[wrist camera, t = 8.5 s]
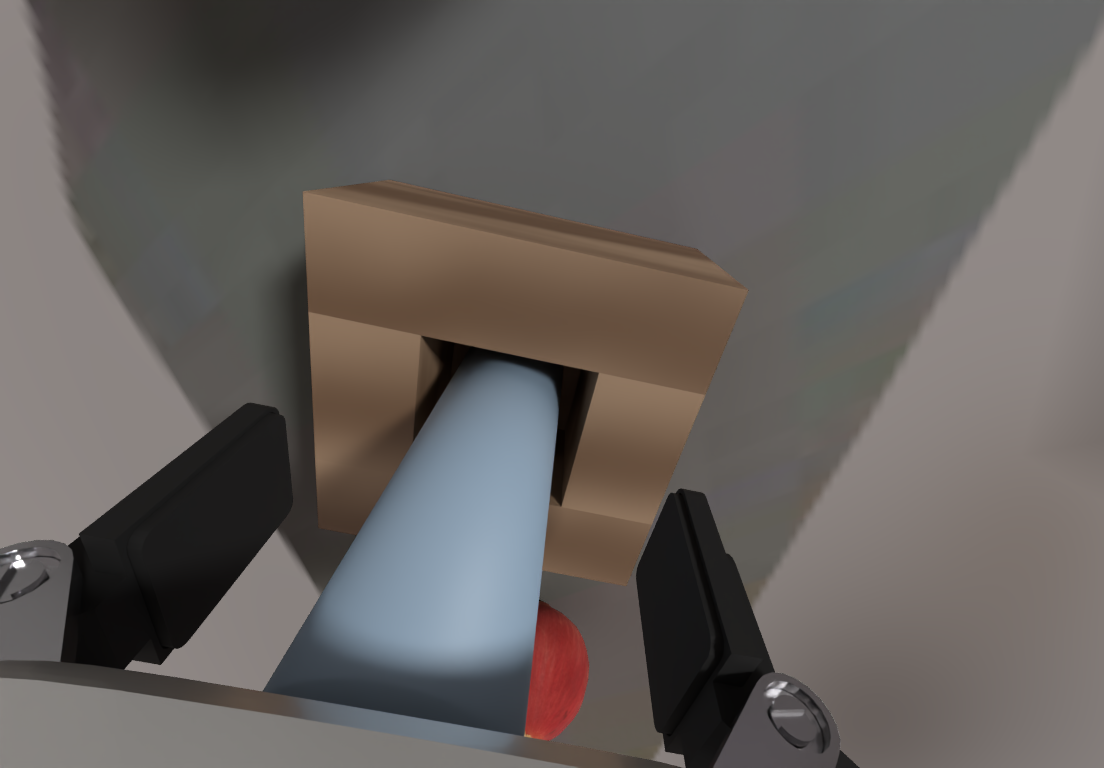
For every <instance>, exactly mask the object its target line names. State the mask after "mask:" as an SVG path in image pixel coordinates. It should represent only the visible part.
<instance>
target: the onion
mask: <svg viewBox="0 0 1104 768" xmlns="http://www.w3.org/2000/svg"><path fill="white" fill-rule="evenodd" d="M588 674H589V661H588V655H587V650H586V646H585V643H584V640H583V638H582V636H581V634H580V632H579V630H578V629H577V627H576V626H575V625H574V624H573V623H572V622H571V621H570V620H569V619H568V618H567V617H566V616H564V615H563V614H562V613H561V612H559V611H557V610H555V609H553V608H551V607H550V606H549V604H547V603H545V602H543V601H539V603H538V613H537V622H536V632H535V641H534V650H533V660H532V669H531V679H530V688H529V697H528V707H527V716H526V726H525V735H524V737H530V738H536V739H541V740H547V741H549V740H551V739H553V738H555V737H556V736H558V735H559V734H560V733H561V732H562V731H563V730H564V729H565V728H566V727H567V726H568V725H569V724H570V722H571V721H572V720H573V719H574V717H575V716H576V714H577V713H578V711H579V709H580V706H581V704H582V702H583V698H584V694H585V690H586V686H587V682H588Z"/></svg>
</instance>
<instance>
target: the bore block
mask: <svg viewBox="0 0 1104 768" xmlns="http://www.w3.org/2000/svg"><path fill="white" fill-rule="evenodd" d="M303 205H304V227H305V248H306V270H307V292H308V313H309V335H310V356H311V378H312V399H313V421H314V443H315V464H316V486H317V507H318V528H321V529H326V530H331V531H337V532H342V533H347V534H353V535H357V534H358V533H359V531H360V529H361V528H362V526H363V524H364V523H365V521H366V519H367V518H368V516H369V515H370V513H371V511H372V510H373V508H374V506H375V505H376V503H377V501H378V500H379V498H380V496H381V495H382V493H383V491H384V490H385V488H386V486H387V485H388V483H389V481H390V480H391V478H392V476H393V475H394V473H395V471H396V470H397V468H398V466H399V465H400V463H401V462H402V460H403V458H404V457H405V455H406V453H407V452H408V450H409V448H410V447H411V445H412V443H413V442H414V440H415V438H416V437H417V435H418V433H419V432H420V430H421V428H422V427H423V425H424V423H425V422H426V420H427V418H428V417H429V415H430V414H431V412H432V410H433V409H434V407H435V405H436V404H437V402H438V400H439V399H440V397H441V395H442V394H443V392H444V390H445V389H446V387H447V385H448V384H449V382H450V380H451V379H452V377H453V375H454V374H455V372H456V370H457V369H458V367H459V366H460V364H461V362H462V361H463V359H464V357H465V356H466V354H467V352H468V351H469V349H470V347H471V346H474V347H478V348H483V349H488V350H493V351H497V352H502V353H507V354H512V355H517V356H521V357H526V358H531V359H536V360H540V361H545V362H550V363H555V364H559V365H563V378H562V387H561V396H560V406H559V415H558V425H557V434H556V443H555V453H554V462H553V472H552V481H551V490H550V500H549V509H548V519H547V528H546V537H545V547H544V556H543V566H542V570H543V571H549V572H554V573H559V574H565V575H570V576H575V577H580V578H586V579H591V580H596V581H602V582H607V583H612V584H618V585H623V586H626V585H627V583H628V580H629V578H630V576H631V573H632V571H633V568H634V566H635V564H636V561H637V559H638V556H639V554H640V551H641V549H642V547H643V544H644V542H645V539H646V537H647V535H648V532H649V530H650V527H651V525H652V522H653V520H654V518H655V515H656V513H657V510H658V508H659V506H660V503H661V501H662V498H663V496H664V494H665V491H666V489H667V486H668V484H669V481H670V479H671V477H672V474H673V472H674V469H675V467H676V465H677V462H678V460H679V457H680V455H681V452H682V450H683V448H684V445H685V443H686V440H687V438H688V436H689V433H690V431H691V428H692V426H693V423H694V421H695V419H696V416H697V414H698V411H699V409H700V407H701V404H702V402H703V399H704V397H705V394H706V392H707V390H708V387H709V385H710V382H711V380H712V378H713V375H714V373H715V370H716V368H717V365H718V363H719V361H720V358H721V356H722V353H723V351H724V349H725V346H726V344H727V341H728V339H729V337H730V334H731V332H732V329H733V327H734V324H735V322H736V320H737V317H738V315H739V312H740V310H741V308H742V305H743V303H744V300H745V298H746V295H747V293H748V291H749V290H748V289H746V288H745V287H744V286H743V285H741V284H740V283H739V282H738V281H736V280H735V279H734V278H733V277H731V276H730V275H729V274H728V273H726V272H725V271H724V270H723V269H721V268H720V267H719V266H718V265H716V264H715V263H714V262H713V261H711V260H710V259H709V258H708V257H706V256H705V255H704V254H703V253H701V252H700V251H699V250H698V249H695V248H690V247H686V246H681V245H677V244H673V243H668V242H664V241H659V240H655V239H650V238H646V237H641V236H637V235H632V234H628V233H624V232H619V231H615V230H610V229H606V228H601V227H597V226H592V225H588V224H584V223H579V222H575V221H570V220H566V219H561V218H557V217H552V216H548V215H543V214H539V213H535V212H530V211H526V210H521V209H517V208H512V207H508V206H503V205H499V204H494V203H490V202H486V201H481V200H477V199H472V198H468V197H463V196H459V195H454V194H450V193H446V192H441V191H437V190H432V189H428V188H423V187H419V186H414V185H410V184H405V183H401V182H397V181H392V180H386V181H378V182H371V183H363V184H356V185H348V186H341V187H333V188H326V189H318V190H311V191H303Z"/></svg>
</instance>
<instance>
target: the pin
mask: <svg viewBox="0 0 1104 768" xmlns="http://www.w3.org/2000/svg"><path fill="white" fill-rule="evenodd" d="M562 378H563V365H559V364H555V363H550V362H545V361H540V360H536V359H531V358H526V357H521V356H517V355H512V354H507V353H502V352H497V351H493V350H488V349H483V348H478V347H474V346H471V347H470V349H469V351H468V352H467V354H466V356H465V357H464V359H463V361H462V362H461V364H460V366H459V367H458V369H457V370H456V372H455V374H454V375H453V377H452V379H451V380H450V382H449V384H448V385H447V387H446V389H445V390H444V392H443V394H442V395H441V397H440V399H439V400H438V402H437V404H436V405H435V407H434V409H433V410H432V412H431V414H430V415H429V417H428V418H427V420H426V422H425V423H424V425H423V427H422V428H421V430H420V432H419V433H418V435H417V437H416V438H415V440H414V442H413V443H412V445H411V447H410V448H409V450H408V452H407V453H406V455H405V457H404V458H403V460H402V462H401V463H400V465H399V466H398V468H397V470H396V471H395V473H394V475H393V476H392V478H391V480H390V481H389V483H388V485H387V486H386V488H385V490H384V491H383V493H382V495H381V496H380V498H379V500H378V501H377V503H376V505H375V506H374V508H373V510H372V511H371V513H370V515H369V516H368V518H367V519H366V521H365V523H364V524H363V526H362V528H361V529H360V531H359V533H358V534H357V536H356V538H355V539H354V541H353V543H352V544H351V546H350V548H349V549H348V551H347V553H346V554H345V556H344V558H343V559H342V561H341V563H340V564H339V566H338V567H337V569H336V571H335V572H334V574H333V576H332V577H331V579H330V581H329V582H328V584H327V586H326V587H325V589H324V591H323V592H322V594H321V596H320V597H319V599H318V601H317V602H316V604H315V606H314V607H313V609H312V611H311V612H310V614H309V615H308V617H307V619H306V620H305V622H304V624H303V625H302V627H301V629H300V630H299V632H298V634H297V635H296V637H295V639H294V640H293V642H292V644H291V645H290V647H289V649H288V650H287V652H286V654H285V655H284V657H283V659H282V660H281V662H280V664H279V665H278V667H277V668H276V670H275V672H274V673H273V675H272V677H271V678H270V680H269V682H268V683H267V685H266V687H265V688H264V690H263V692H268V693H274V694H280V695H286V696H292V697H298V698H304V699H310V700H316V701H322V702H328V703H334V704H339V705H345V706H351V707H357V708H363V709H369V710H375V711H381V712H386V713H392V714H398V715H404V716H410V717H415V718H421V719H427V720H433V721H439V722H445V723H450V724H456V725H462V726H468V727H473V728H479V729H485V730H490V731H496V732H502V733H507V734H513V735H519V736H524V735H525V726H526V716H527V707H528V697H529V688H530V679H531V669H532V660H533V650H534V641H535V632H536V622H537V613H538V603H539V594H540V585H541V575H542V566H543V556H544V547H545V537H546V528H547V519H548V509H549V500H550V490H551V481H552V472H553V462H554V453H555V443H556V434H557V425H558V415H559V406H560V396H561V387H562Z"/></svg>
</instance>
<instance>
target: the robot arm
mask: <svg viewBox="0 0 1104 768" xmlns="http://www.w3.org/2000/svg"><path fill="white" fill-rule="evenodd" d="M292 503H293V495H292V484H291V474H290V464H289V454H288V444H287V433H286V423H285V418H284V416H282V415H279V411H278V410H277V409H276V408H274V407H270V406H265V405H260V404H255V403H247V404H245V405H243V406H242V407H241V408H239V409H238V410H237V411H236V412H234V413H233V414H232V415H230V416H229V417H228V418H227V419H225V420H224V421H223V422H221V423H220V424H219V425H218V426H216V427H215V428H214V429H212V430H211V431H210V432H209V433H207V434H206V435H205V436H204V437H202V438H201V439H200V440H198V441H197V442H196V443H195V444H193V445H192V446H191V447H189V448H188V449H187V450H186V451H184V452H183V453H182V454H181V455H179V456H178V457H177V458H175V459H174V460H173V461H171V462H170V463H169V464H168V465H166V466H165V467H164V468H162V469H161V470H160V471H159V472H157V473H156V474H155V475H154V476H152V477H151V478H150V479H148V480H147V481H146V482H145V483H143V484H142V485H141V486H139V487H138V488H137V489H136V490H134V491H133V492H132V493H131V494H129V495H128V496H127V497H125V498H124V499H123V500H121V501H120V502H119V503H118V504H116V505H115V506H114V507H113V508H111V509H110V510H109V511H107V512H106V513H105V514H104V515H102V516H101V517H100V518H98V519H97V520H96V521H95V522H93V523H92V524H91V525H89V526H88V527H87V528H86V529H84V530H83V531H82V532H80V533H79V535H80V537H78V538H77V539H76V540H75V541H74V542H72V543H71V544H69V545H68V546H67V545H66V544H64V543H61V542H57V541H54V540H34V541H28V542H22V543H17V544H14V545H11V546H8V547H4V548H1V549H0V768H681V767H677V766H674V765H669V764H666V763H662V762H657V761H652V760H647V759H642V758H637V757H632V756H627V755H622V754H617V753H611V752H606V751H601V750H596V749H591V748H586V747H581V746H575V745H569V744H564V743H558V742H552V741H547V740H541V739H536V738H530V737H524V736H519V735H513V734H507V733H502V732H496V731H490V730H485V729H479V728H473V727H468V726H462V725H456V724H450V723H445V722H439V721H433V720H427V719H421V718H415V717H410V716H404V715H398V714H392V713H386V712H381V711H375V710H369V709H363V708H357V707H351V706H345V705H339V704H334V703H328V702H322V701H316V700H310V699H304V698H298V697H292V696H286V695H280V694H274V693H268V692H262V691H255V690H249V689H243V688H237V687H232V686H225V685H219V684H213V683H207V682H201V681H195V680H189V679H183V678H177V677H170V676H163V675H156V674H150V673H143V672H136V671H129V670H124V669H125V668H126V667H127V665H128V664H129V663H130V662H131V661H132V660H135V661H142V662H147V663H152V664H158V665H161V664H162V663H163V662H164V660H165V659H166V658H167V656H168V655H169V654H170V653H171V652H172V650H173V649H174V648H176V649H178V648H180V647H182V646H183V645H185V644H186V643H187V642H188V640H189V639H190V638H191V637H192V636H193V634H194V633H195V632H196V630H197V629H198V628H199V626H200V625H201V624H202V623H203V621H204V620H205V619H206V618H207V616H208V615H209V614H210V613H211V611H212V610H213V609H214V607H215V606H216V605H217V604H218V603H219V601H220V600H221V599H222V597H223V596H224V595H225V594H226V592H227V591H228V590H229V589H230V587H231V586H232V585H233V583H234V582H235V581H236V580H237V578H238V577H239V576H240V575H241V573H242V572H243V571H244V570H245V568H246V567H247V566H248V564H249V563H250V562H251V561H252V559H253V558H254V557H255V556H256V554H257V553H258V552H259V550H260V549H261V548H262V547H263V545H264V544H265V543H266V542H267V540H268V539H269V538H270V537H271V535H272V534H273V533H274V531H275V530H276V529H277V528H278V526H279V525H280V524H281V523H282V521H283V520H284V519H285V517H286V516H287V515H288V513H289V512H290V509H291V507H292ZM636 582H637V590H638V598H639V606H640V614H641V622H642V630H643V638H644V646H645V654H646V662H647V670H648V678H649V686H650V694H651V702H652V710H653V718H654V725H655V728H656V730H657V732H659V733H663V738H664V746H665V751H666V752H670V753H676V754H682V755H684V760H685V766H686V768H859V767H858V766H857V765H856V764H855V763H854V762H853V761H852V760H850V759H849V758H848V757H847V756H846V755H845V754H844V753H843V752H842V751H841V750H840V736H839V733H838V728H837V725H836V723H835V721H834V719H833V717H832V715H831V713H830V711H829V710H828V708H827V707H826V706H825V704H824V703H823V702H822V700H821V699H820V698H819V697H818V696H817V695H816V694H815V693H814V692H813V691H812V690H811V689H810V688H809V687H808V686H806V685H805V684H803V683H802V682H800V681H799V680H797V679H796V678H794V677H791V676H788V675H786V674H784V673H775V671H774V668H773V665H772V663H771V660H770V657H769V654H768V652H767V649H766V646H765V643H764V641H763V638H762V635H761V632H760V630H759V627H758V624H757V621H756V619H755V616H754V613H753V611H752V608H751V605H750V602H749V600H748V597H747V594H746V591H745V589H744V586H743V583H742V580H741V578H740V575H739V572H738V569H737V567H736V564H735V562H734V560H733V558H732V557H731V556H730V555H729V554H726V553H725V550H724V547H723V544H722V541H721V539H720V536H719V533H718V530H717V527H716V524H715V521H714V519H713V516H712V513H711V510H710V507H709V504H708V501H707V499H706V496H705V494H703V493H701V492H696V491H691V490H686V489H679V490H678V491H677V492H676V494H675V493H670V494H669V496H668V498H667V500H666V502H665V505H664V507H663V509H662V511H661V514H660V516H659V518H658V521H657V523H656V525H655V528H654V530H653V532H652V534H651V537H650V539H649V541H648V544H647V546H646V548H645V551H644V553H643V555H642V557H641V560H640V562H639V564H638V568H637V573H636Z"/></svg>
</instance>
